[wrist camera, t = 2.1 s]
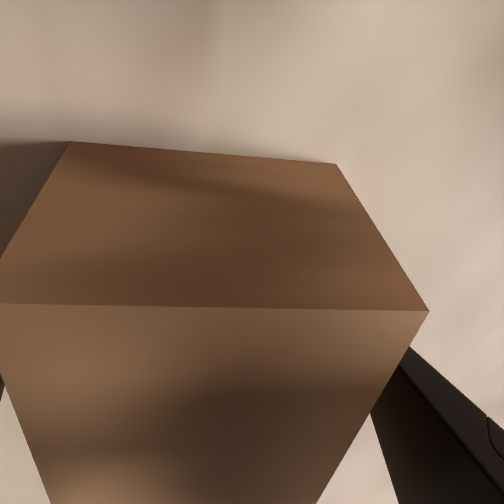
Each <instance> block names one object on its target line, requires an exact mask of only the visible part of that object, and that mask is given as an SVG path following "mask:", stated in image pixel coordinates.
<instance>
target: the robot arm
mask: <svg viewBox="0 0 504 504" xmlns="http://www.w3.org/2000/svg"><path fill="white" fill-rule="evenodd" d="M4 386H5V384H4V381H3V379H2V376H1V374H0V401H1V397H2V394H3V390H4ZM370 415H371V418H372V421H373V424H374V427H375V431H376V434H377V437H378V440H379V443H380V446H381V449H382V453H383V456H384V459H385V462H386V465H387V468H388V471H389V474H390V478H391V481H392V484H393V487H394V490H395V493H396V496H397V500H398V503H399V504H504V430H503V429H502V428H501V427H500V426H499V425H498V424H497V423H495V422H494V421H493V420H492V419H491V418H490V417H487V415H486V414H485V413H484V412H483V411H482V410H481V409H480V408H478V407H477V406H476V405H475V404H474V403H473V402H472V401H471V400H469V399H468V398H467V397H466V396H465V395H464V394H463V393H462V392H460V391H459V390H458V389H457V388H456V387H455V386H454V385H453V384H451V383H450V382H449V381H448V380H447V379H446V378H445V377H444V376H442V375H441V374H440V373H439V372H438V371H437V370H436V369H435V368H433V367H432V366H431V365H430V364H429V363H428V362H427V361H426V360H424V359H423V358H422V357H421V356H420V355H419V354H418V353H417V352H415V351H414V350H413V349H412V348H411V347H410V346H409V347H408V349H407V350H406V352H405V354H404V355H403V357H402V359H401V360H400V362H399V364H398V366H397V367H396V369H395V371H394V372H393V374H392V376H391V377H390V379H389V381H388V383H387V384H386V386H385V388H384V389H383V391H382V393H381V394H380V396H379V398H378V399H377V401H376V403H375V405H374V406H373V408H372V410H371V411H370Z"/></svg>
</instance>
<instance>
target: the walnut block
mask: <svg viewBox="0 0 504 504" xmlns="http://www.w3.org/2000/svg"><path fill="white" fill-rule="evenodd" d="M428 313H429V310H428V308H427V307H426V305H425V303H424V302H423V300H422V299H421V297H420V295H419V294H418V292H417V291H416V289H415V288H414V286H413V284H412V283H411V281H410V280H409V278H408V277H407V275H406V273H405V272H404V270H403V269H402V267H401V266H400V264H399V262H398V261H397V259H396V258H395V256H394V254H393V253H392V251H391V250H390V248H389V247H388V245H387V243H386V242H385V240H384V239H383V237H382V236H381V234H380V232H379V231H378V229H377V228H376V226H375V225H374V223H373V221H372V220H371V218H370V217H369V215H368V213H367V212H366V210H365V209H364V207H363V206H362V204H361V202H360V201H359V199H358V198H357V196H356V195H355V193H354V191H353V190H352V188H351V187H350V185H349V184H348V182H347V180H346V179H345V177H344V176H343V174H342V172H341V171H340V169H339V168H338V166H337V165H336V164H328V163H316V162H305V161H293V160H282V159H270V158H259V157H247V156H236V155H224V154H213V153H201V152H189V151H178V150H166V149H155V148H143V147H132V146H120V145H109V144H97V143H86V142H74V141H70V143H69V144H68V146H67V148H66V149H65V151H64V153H63V154H62V156H61V158H60V159H59V161H58V163H57V164H56V166H55V168H54V169H53V171H52V173H51V174H50V176H49V178H48V179H47V181H46V183H45V184H44V186H43V188H42V189H41V191H40V193H39V194H38V196H37V198H36V199H35V201H34V203H33V204H32V206H31V208H30V209H29V211H28V213H27V214H26V216H25V218H24V219H23V221H22V223H21V224H20V226H19V228H18V229H17V231H16V233H15V234H14V236H13V238H12V239H11V241H10V243H9V244H8V246H7V248H6V249H5V251H4V253H3V254H2V256H1V258H0V374H1V376H2V379H3V381H4V384H5V386H6V389H7V392H8V394H9V397H10V399H11V402H12V405H13V407H14V410H15V412H16V415H17V417H18V420H19V423H20V425H21V428H22V430H23V433H24V435H25V438H26V441H27V443H28V446H29V448H30V451H31V454H32V456H33V459H34V461H35V464H36V466H37V469H38V472H39V474H40V477H41V479H42V482H43V485H44V487H45V490H46V492H47V495H48V497H49V500H50V503H51V504H316V503H317V501H318V499H319V498H320V496H321V494H322V493H323V491H324V489H325V488H326V486H327V484H328V483H329V481H330V479H331V477H332V476H333V474H334V472H335V471H336V469H337V467H338V466H339V464H340V462H341V461H342V459H343V457H344V455H345V454H346V452H347V450H348V449H349V447H350V445H351V444H352V442H353V440H354V438H355V437H356V435H357V433H358V432H359V430H360V428H361V427H362V425H363V423H364V422H365V420H366V418H367V416H368V415H369V413H370V411H371V410H372V408H373V406H374V405H375V403H376V401H377V399H378V398H379V396H380V394H381V393H382V391H383V389H384V388H385V386H386V384H387V383H388V381H389V379H390V377H391V376H392V374H393V372H394V371H395V369H396V367H397V366H398V364H399V362H400V360H401V359H402V357H403V355H404V354H405V352H406V350H407V349H408V347H409V345H410V344H411V342H412V340H413V338H414V337H415V335H416V333H417V332H418V330H419V328H420V327H421V325H422V323H423V322H424V320H425V318H426V316H427V315H428Z"/></svg>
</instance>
